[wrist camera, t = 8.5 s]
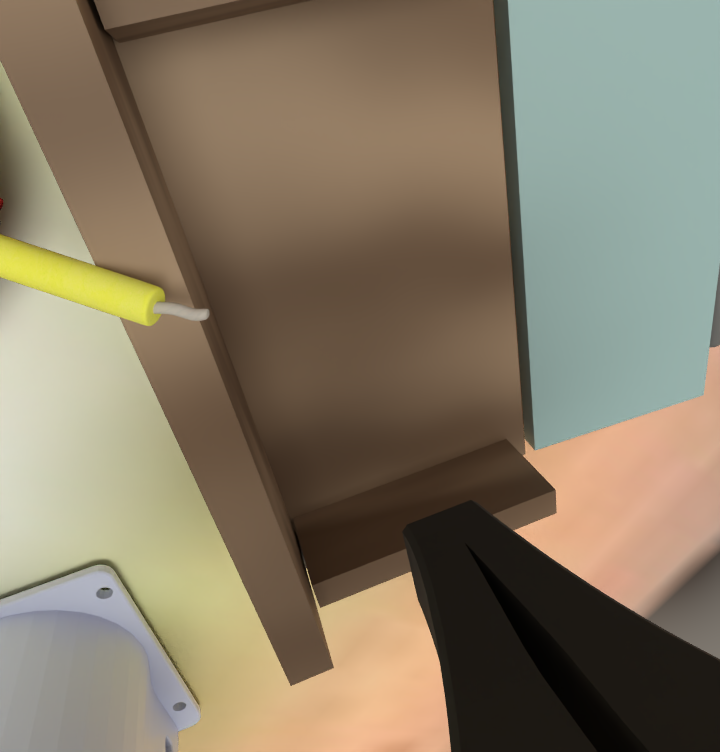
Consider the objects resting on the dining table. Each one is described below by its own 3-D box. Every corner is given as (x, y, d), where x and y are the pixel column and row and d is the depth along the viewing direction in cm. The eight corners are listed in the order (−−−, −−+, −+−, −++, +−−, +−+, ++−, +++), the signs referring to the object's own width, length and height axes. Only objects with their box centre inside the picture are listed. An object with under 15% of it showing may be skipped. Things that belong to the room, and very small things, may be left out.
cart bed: (506, 448, 22) (616, 567, 17) (264, 539, 21) (298, 702, 15) (453, -118, 14) (648, -263, 8) (29, -34, 12) (-94, -143, 6)
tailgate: (524, 438, 21) (703, 380, 22) (535, 450, 21) (719, 389, 21) (487, -88, 13) (768, -150, 14) (501, -97, 13) (797, -162, 14)
